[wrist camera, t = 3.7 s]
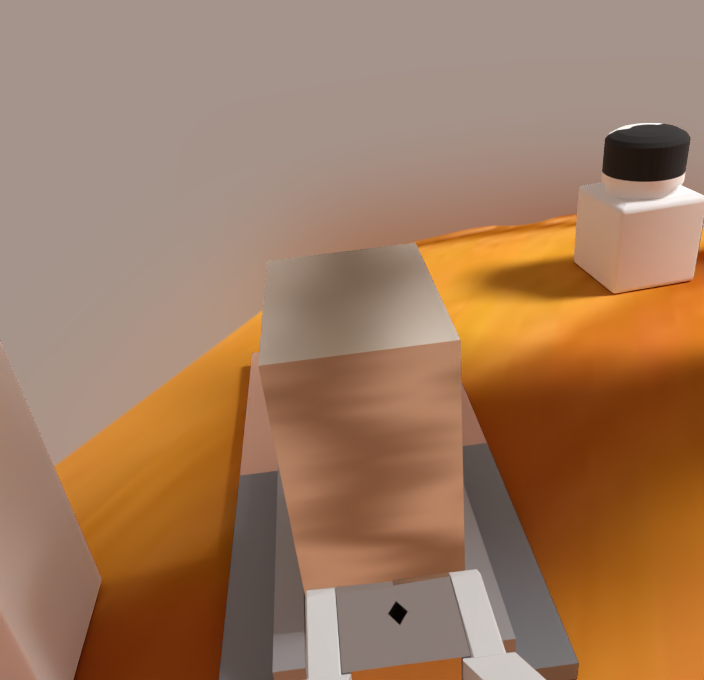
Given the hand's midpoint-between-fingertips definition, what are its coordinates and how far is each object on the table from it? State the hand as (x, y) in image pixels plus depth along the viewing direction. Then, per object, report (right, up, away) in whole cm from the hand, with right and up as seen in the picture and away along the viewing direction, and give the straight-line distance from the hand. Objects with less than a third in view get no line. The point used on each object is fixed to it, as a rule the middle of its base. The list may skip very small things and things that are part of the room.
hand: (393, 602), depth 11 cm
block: (+1, -6, +18) cm, 19 cm away
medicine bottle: (+23, +10, +45) cm, 51 cm away
